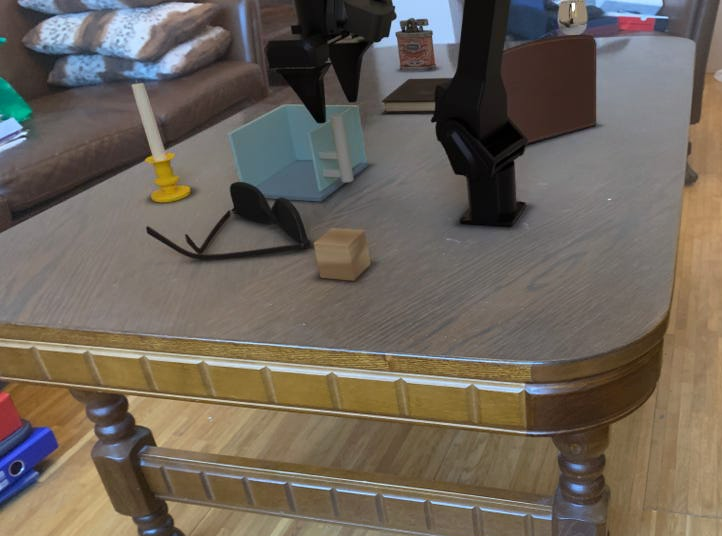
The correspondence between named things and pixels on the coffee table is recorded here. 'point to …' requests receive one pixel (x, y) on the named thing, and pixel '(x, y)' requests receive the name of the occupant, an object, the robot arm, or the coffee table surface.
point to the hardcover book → (413, 97)
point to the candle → (158, 152)
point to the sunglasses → (253, 208)
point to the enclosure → (286, 152)
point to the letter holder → (551, 85)
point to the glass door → (334, 149)
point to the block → (342, 254)
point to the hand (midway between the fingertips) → (337, 112)
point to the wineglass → (572, 17)
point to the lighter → (415, 46)
